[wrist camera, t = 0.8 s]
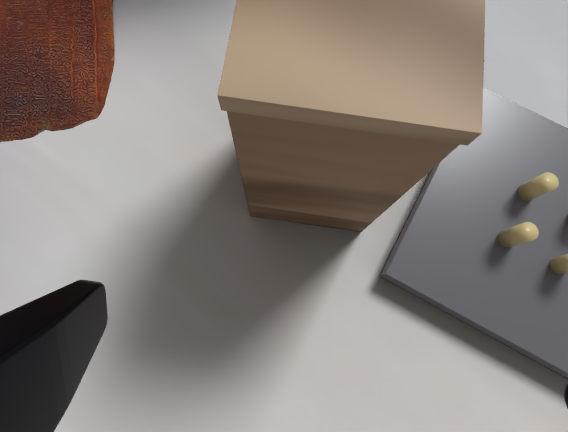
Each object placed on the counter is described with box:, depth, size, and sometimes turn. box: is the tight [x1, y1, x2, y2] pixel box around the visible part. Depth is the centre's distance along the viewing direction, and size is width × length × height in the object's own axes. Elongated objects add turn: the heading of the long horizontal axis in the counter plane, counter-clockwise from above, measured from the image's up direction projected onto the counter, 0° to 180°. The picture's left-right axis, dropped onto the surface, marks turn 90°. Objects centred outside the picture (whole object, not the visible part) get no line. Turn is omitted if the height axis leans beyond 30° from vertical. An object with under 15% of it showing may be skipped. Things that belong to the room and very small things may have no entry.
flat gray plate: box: [380, 87, 568, 379], centre depth 20 cm, size 12×12×3 cm
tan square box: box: [218, 0, 485, 232], centre depth 16 cm, size 6×6×12 cm
